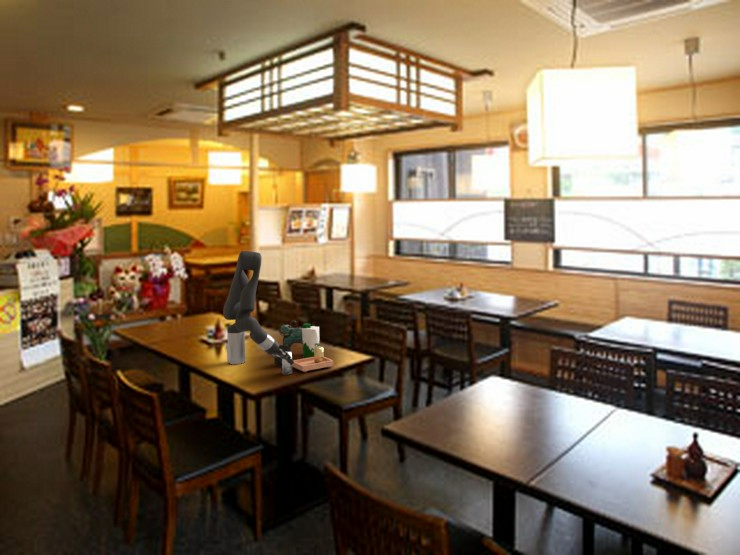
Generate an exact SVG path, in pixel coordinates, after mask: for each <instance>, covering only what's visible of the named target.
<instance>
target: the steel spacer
mask: <svg viewBox="0 0 740 555" xmlns="http://www.w3.org/2000/svg"><path fill="white" fill-rule="evenodd" d="M285 352H286V353H288V354H289V355H290V356H291V359H292V360H293V356H292V355H293V354H292V352H293V351H292V350H291V351H285ZM282 357H283V356H282ZM281 368H282V369H281V370H282V371H281V373H282V375H285V376H288V375H289V374H290V375H292V374H293V366H292V365H290V364H289V363H288V362H287V361H286V360H284V359H282V367H281ZM290 375H289V376H290Z"/></svg>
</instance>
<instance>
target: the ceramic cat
mask: <svg viewBox="0 0 740 555" xmlns="http://www.w3.org/2000/svg"><path fill="white" fill-rule="evenodd" d="M292 322H294V323H297V321H296V320H291V321H290V325H289V324H284V323H281V326H280V327H279V335H280V336H282V337H283V339H282V345H283V346H291V347H292V346H293V344H302V345H303V336H302V328H303V325H301V326H297V327H293V326H292Z"/></svg>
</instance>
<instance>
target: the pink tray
mask: <svg viewBox="0 0 740 555" xmlns="http://www.w3.org/2000/svg"><path fill="white" fill-rule="evenodd" d="M292 360H293V359H292ZM293 361H294V363H293V364H292V368H295V369H297V370H299V371H302V372H303V373H305V374H306V373H307V372H308V371H313V370H319V369H322V368H328V369H331V367H333V366H335V365H334V359H331V358H328V357H326V356H324V362H321V363H314V357H310V358H305V359H303V358H300V359H294V360H293Z"/></svg>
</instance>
